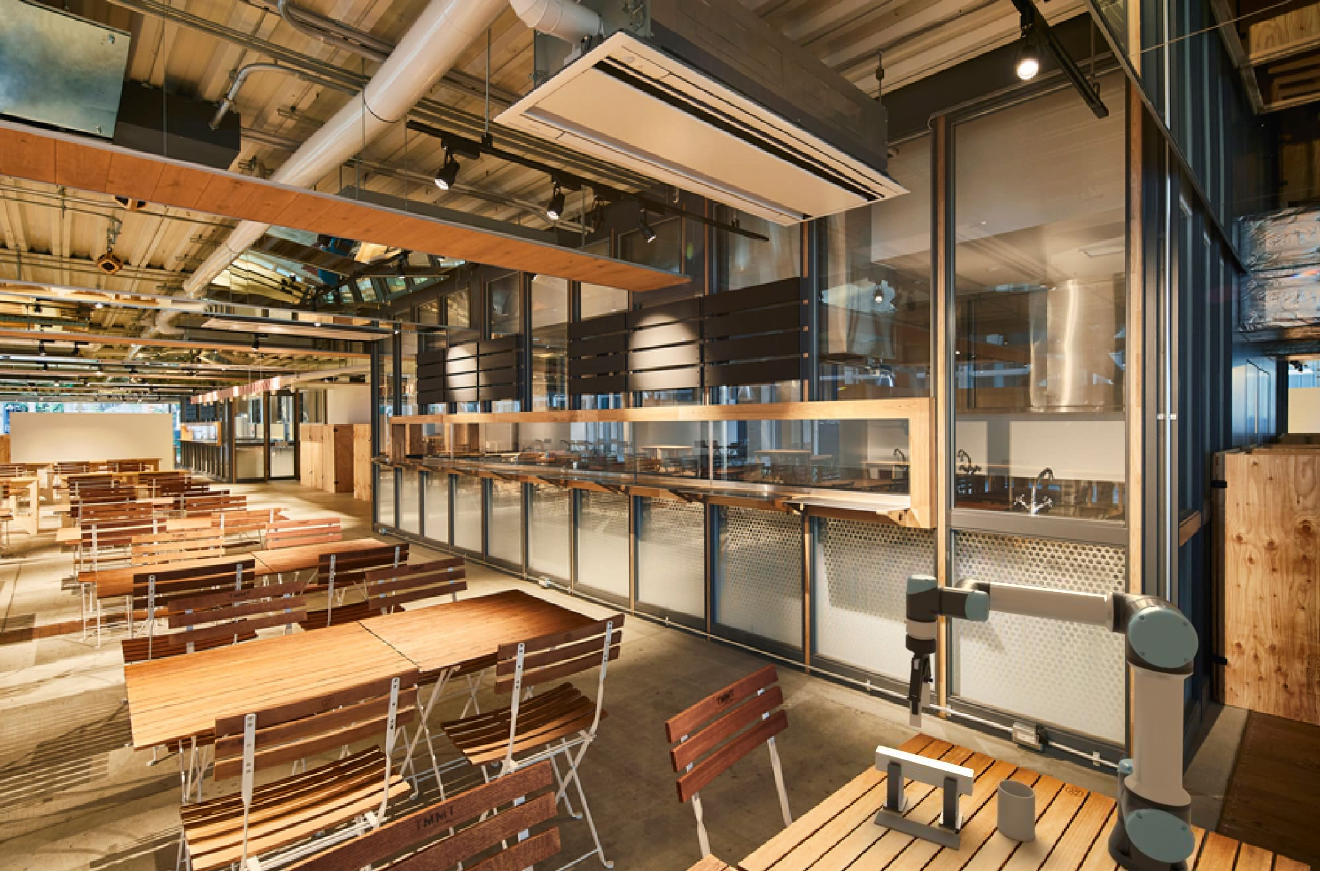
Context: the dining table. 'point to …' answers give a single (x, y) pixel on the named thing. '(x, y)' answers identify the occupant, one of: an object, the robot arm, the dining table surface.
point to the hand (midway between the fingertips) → (919, 715)
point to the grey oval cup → (1016, 810)
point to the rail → (925, 769)
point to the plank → (918, 829)
